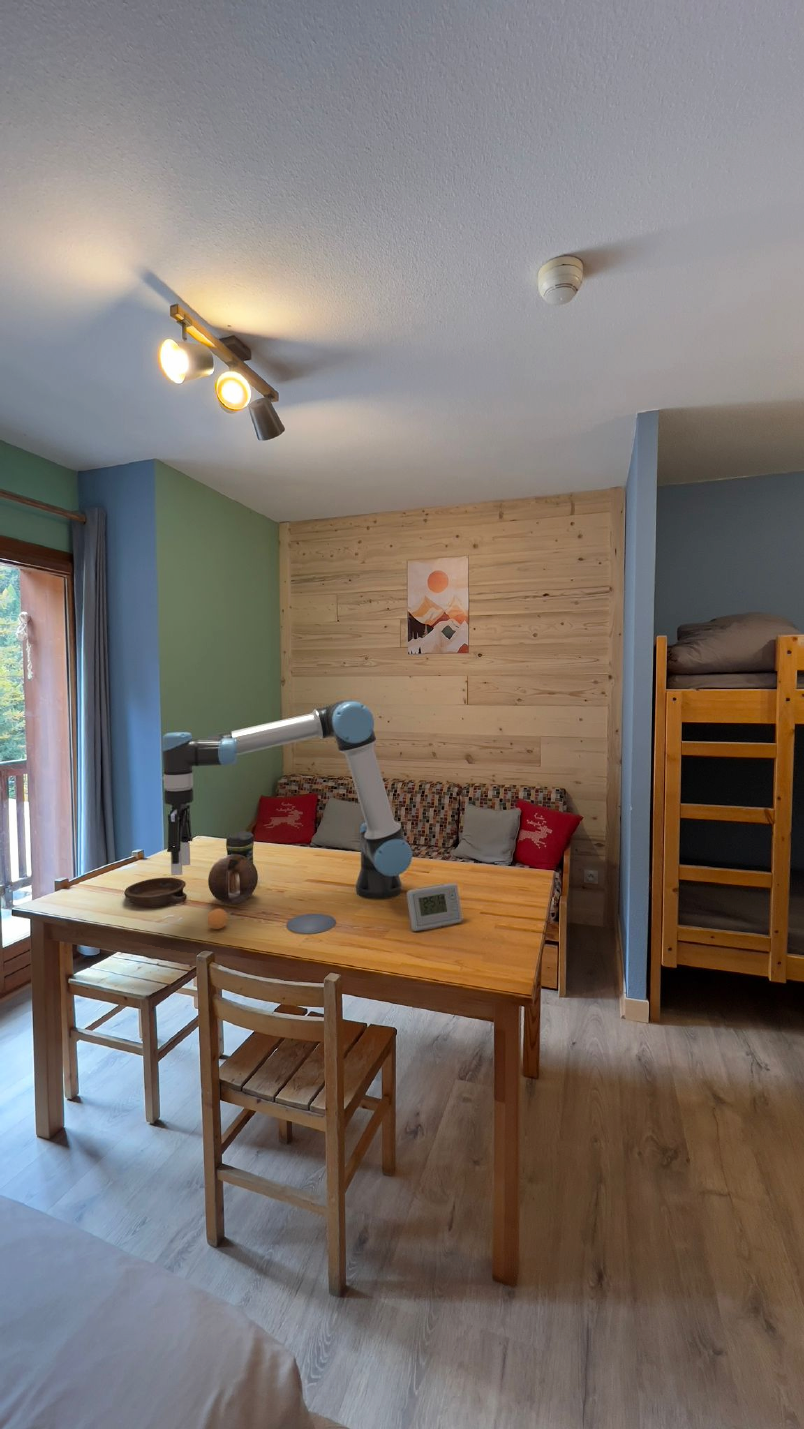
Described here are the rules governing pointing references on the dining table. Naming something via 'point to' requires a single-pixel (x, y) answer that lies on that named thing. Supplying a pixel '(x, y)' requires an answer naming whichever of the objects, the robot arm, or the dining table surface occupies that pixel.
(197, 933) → the dining table surface
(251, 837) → the coffee jar
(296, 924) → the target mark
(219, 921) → the ball
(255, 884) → the wooden sphere
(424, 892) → the digital clock
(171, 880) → the dish
